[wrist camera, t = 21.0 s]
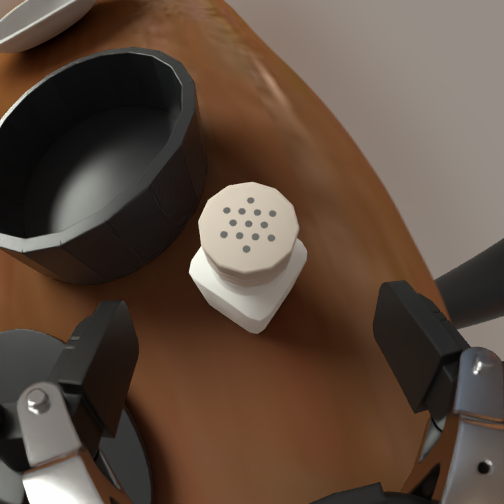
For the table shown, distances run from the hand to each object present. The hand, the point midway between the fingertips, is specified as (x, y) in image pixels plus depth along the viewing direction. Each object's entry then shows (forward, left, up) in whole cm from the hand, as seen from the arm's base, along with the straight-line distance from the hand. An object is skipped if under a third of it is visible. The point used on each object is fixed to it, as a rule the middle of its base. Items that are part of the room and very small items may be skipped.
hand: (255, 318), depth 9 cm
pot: (+10, -13, -9) cm, 18 cm away
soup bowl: (+26, -48, -9) cm, 55 cm away
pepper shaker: (0, -3, -9) cm, 9 cm away
